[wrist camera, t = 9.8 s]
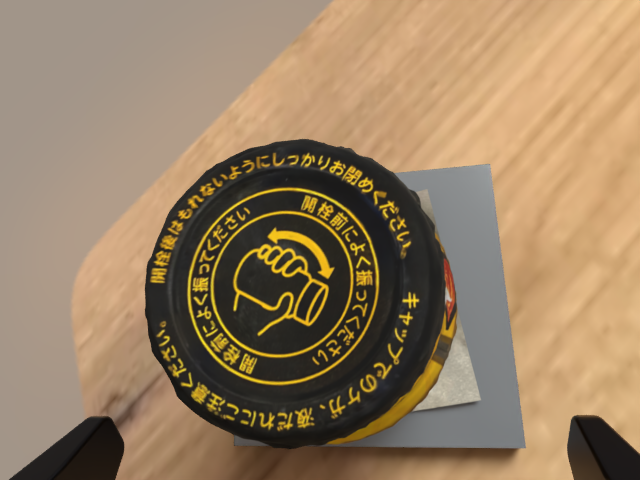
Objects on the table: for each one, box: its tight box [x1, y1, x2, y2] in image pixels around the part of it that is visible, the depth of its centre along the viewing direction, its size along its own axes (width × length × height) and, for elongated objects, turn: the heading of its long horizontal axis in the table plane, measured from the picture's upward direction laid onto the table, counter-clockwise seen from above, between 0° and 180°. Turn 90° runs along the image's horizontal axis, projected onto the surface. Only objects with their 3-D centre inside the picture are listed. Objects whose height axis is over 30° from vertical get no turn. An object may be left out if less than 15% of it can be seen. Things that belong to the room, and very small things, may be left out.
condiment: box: [145, 139, 481, 449], centre depth 13 cm, size 7×8×12 cm
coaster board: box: [234, 164, 526, 448], centre depth 20 cm, size 11×11×1 cm
